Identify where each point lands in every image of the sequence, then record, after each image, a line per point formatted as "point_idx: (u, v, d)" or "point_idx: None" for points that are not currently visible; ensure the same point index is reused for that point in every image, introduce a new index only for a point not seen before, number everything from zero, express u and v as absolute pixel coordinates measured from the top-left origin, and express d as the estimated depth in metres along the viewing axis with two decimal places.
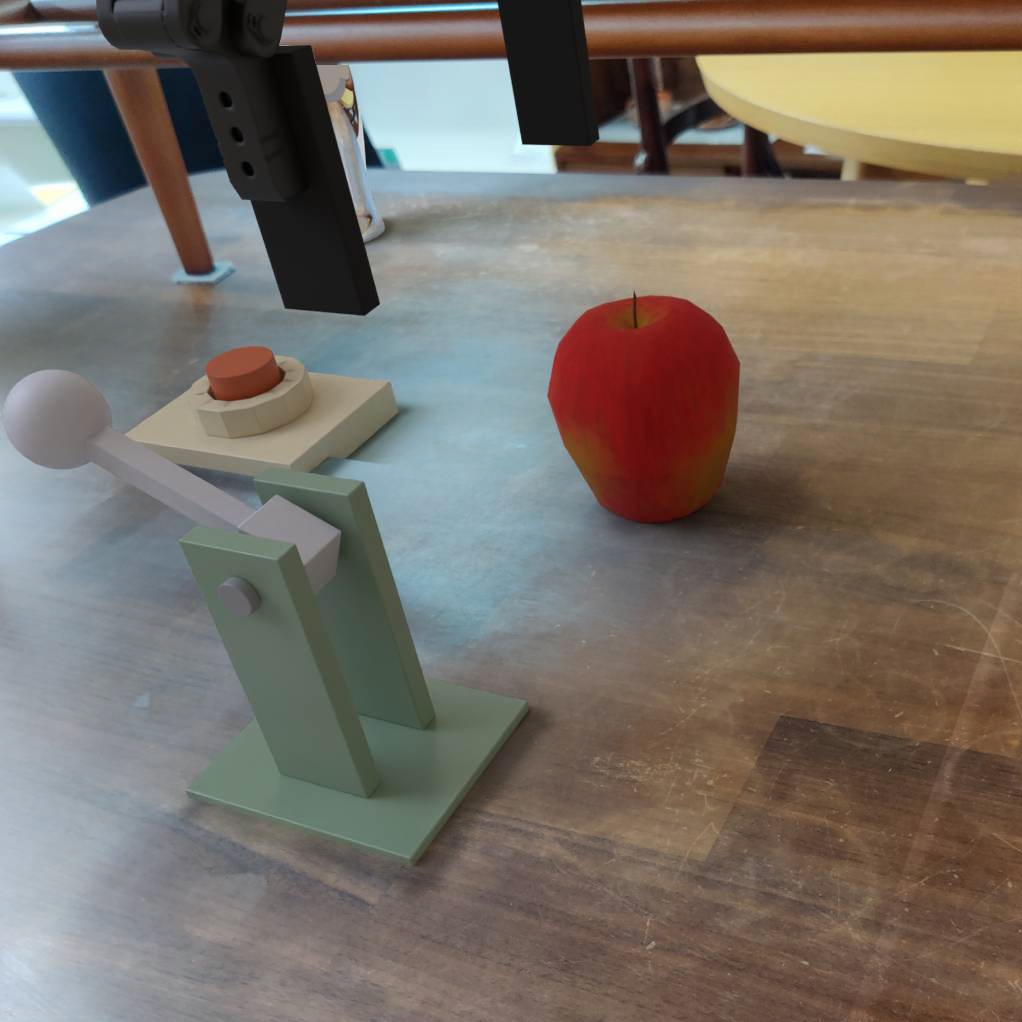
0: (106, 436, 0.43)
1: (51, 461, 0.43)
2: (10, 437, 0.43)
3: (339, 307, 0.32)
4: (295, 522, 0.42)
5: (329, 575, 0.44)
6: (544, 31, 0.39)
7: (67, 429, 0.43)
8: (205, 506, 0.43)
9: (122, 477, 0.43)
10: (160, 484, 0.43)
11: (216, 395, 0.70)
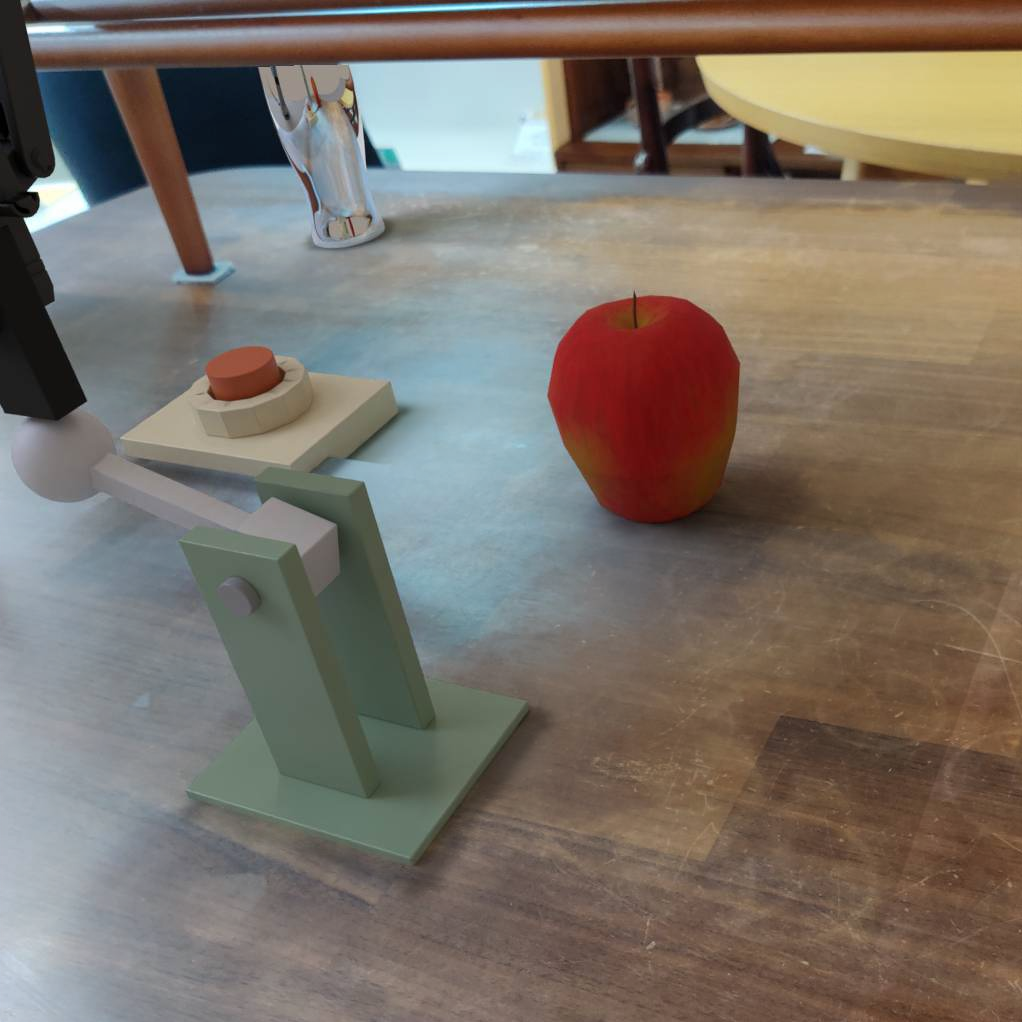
0: (108, 463, 0.44)
1: (59, 492, 0.44)
2: (19, 474, 0.44)
3: (39, 414, 0.43)
4: (291, 520, 0.42)
5: (332, 572, 0.44)
6: None
7: (69, 458, 0.44)
8: (204, 516, 0.43)
9: (127, 500, 0.44)
10: (161, 501, 0.43)
11: (216, 395, 0.70)
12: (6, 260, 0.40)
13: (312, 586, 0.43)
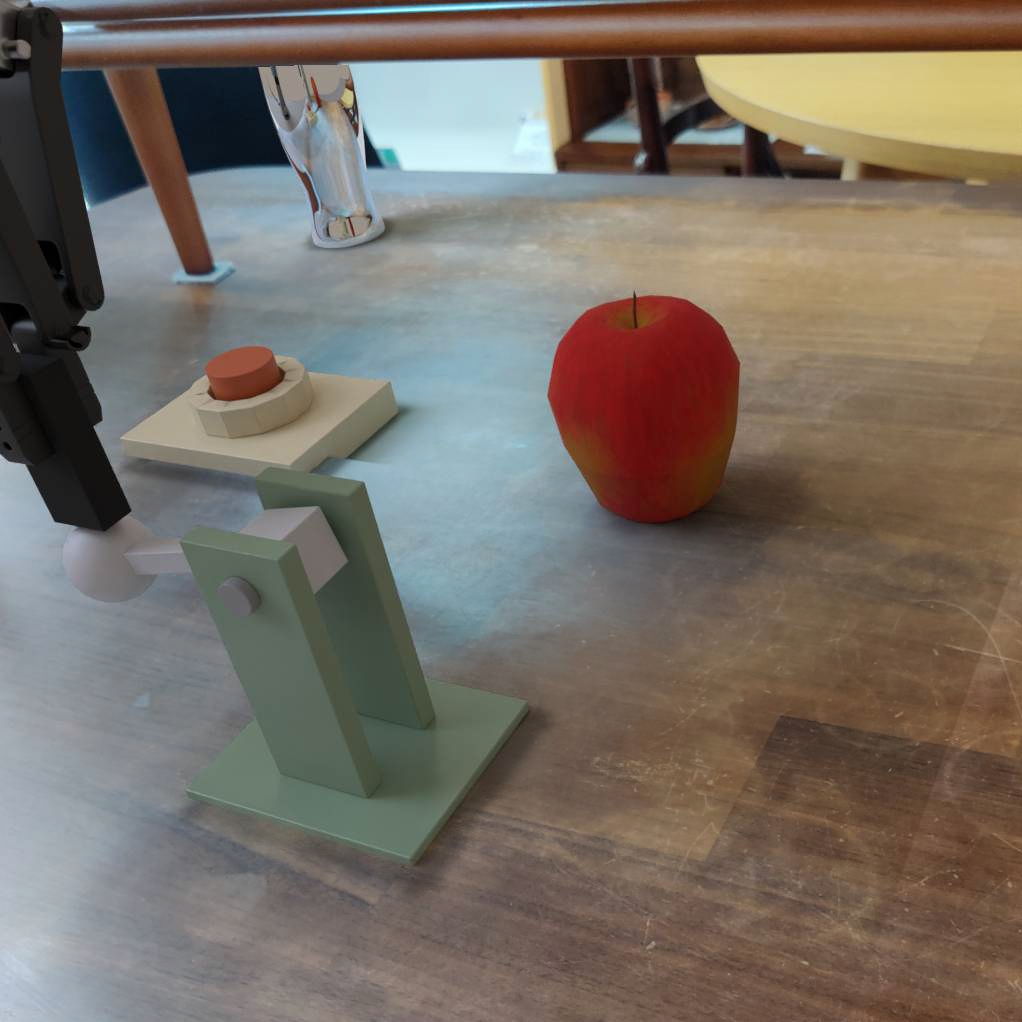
0: (140, 545, 0.47)
1: (107, 586, 0.47)
2: (73, 584, 0.47)
3: (88, 525, 0.46)
4: (278, 518, 0.43)
5: (336, 559, 0.43)
6: None
7: (104, 550, 0.46)
8: None
9: (160, 571, 0.46)
10: (179, 554, 0.45)
11: (216, 395, 0.70)
12: (60, 390, 0.43)
13: (313, 572, 0.42)
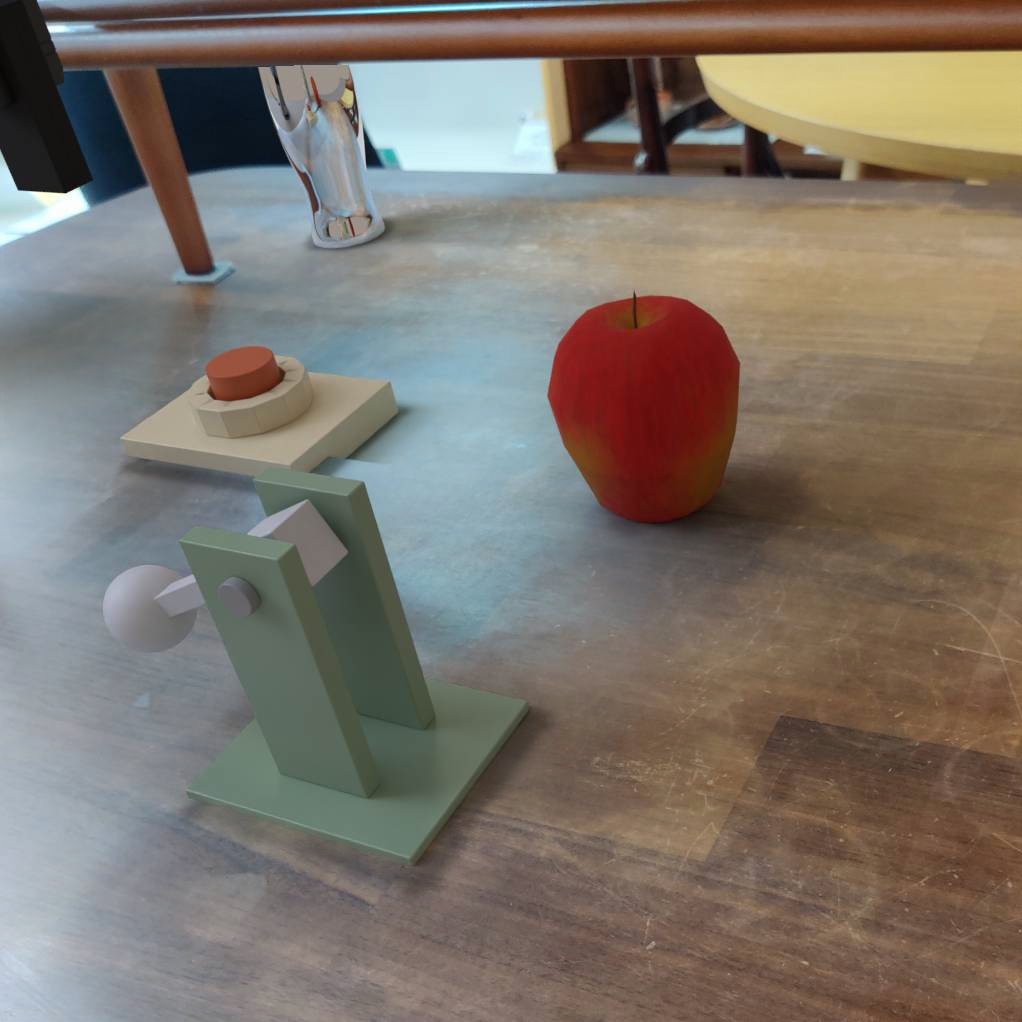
0: (169, 587, 0.48)
1: (144, 633, 0.48)
2: (116, 638, 0.49)
3: (49, 188, 0.47)
4: (273, 519, 0.43)
5: (334, 550, 0.43)
6: None
7: (136, 597, 0.48)
8: None
9: (188, 607, 0.47)
10: None
11: (216, 395, 0.70)
12: (20, 33, 0.44)
13: (310, 563, 0.42)
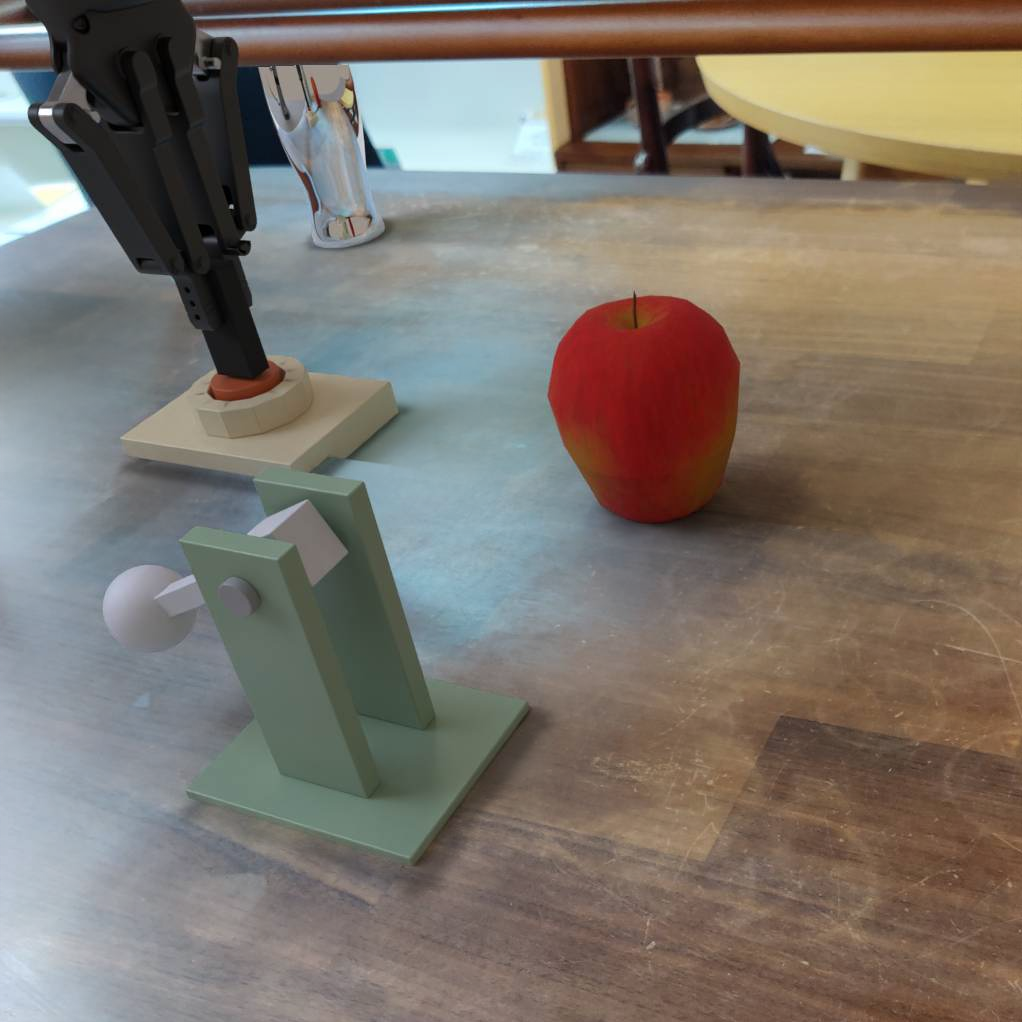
0: (169, 587, 0.48)
1: (144, 633, 0.48)
2: (116, 638, 0.49)
3: (242, 374, 0.70)
4: (273, 519, 0.43)
5: (334, 550, 0.43)
6: None
7: (136, 597, 0.48)
8: None
9: (188, 607, 0.47)
10: None
11: None
12: (231, 281, 0.67)
13: (310, 563, 0.42)
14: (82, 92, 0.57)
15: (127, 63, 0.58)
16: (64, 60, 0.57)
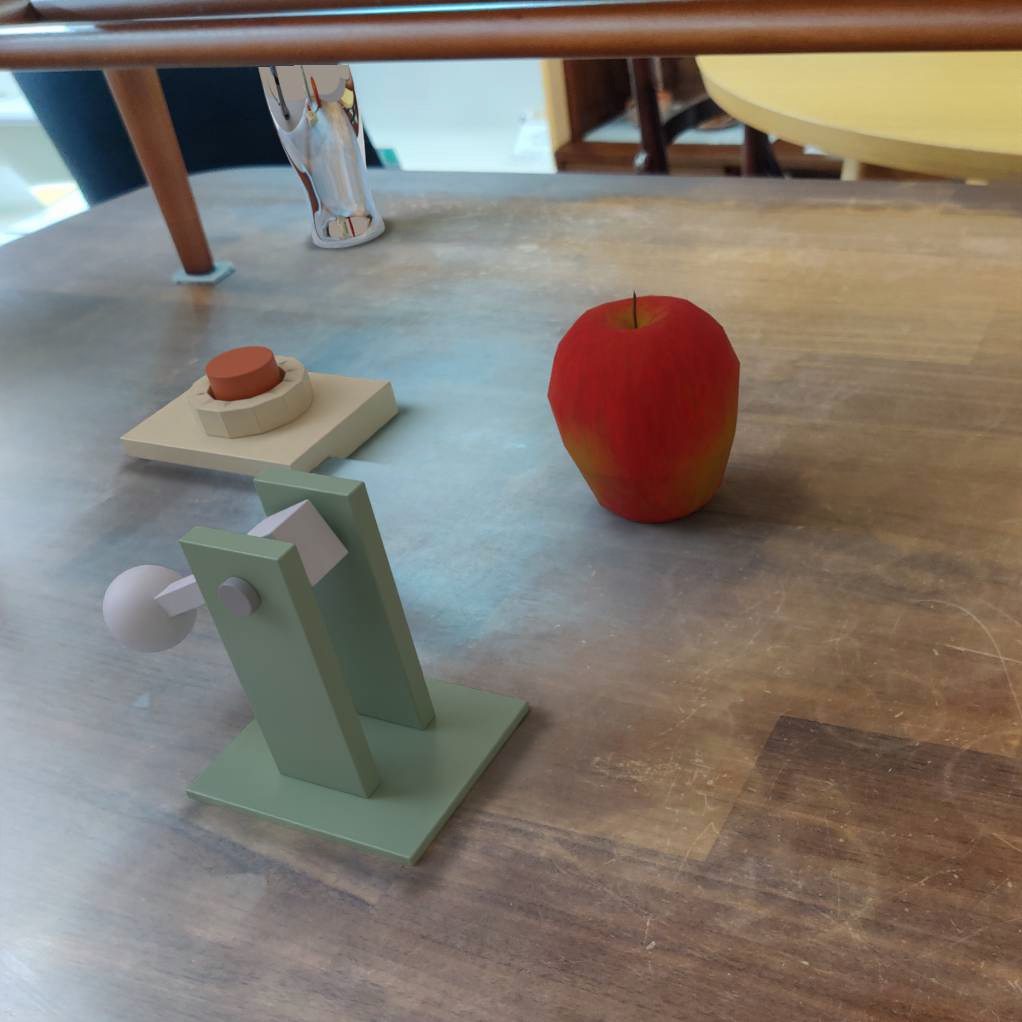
0: (169, 587, 0.48)
1: (144, 633, 0.48)
2: (116, 638, 0.49)
3: None
4: (273, 519, 0.43)
5: (334, 550, 0.43)
6: None
7: (136, 597, 0.48)
8: None
9: (188, 607, 0.47)
10: None
11: (216, 395, 0.70)
12: None
13: (310, 563, 0.42)
14: None
15: None
16: None
